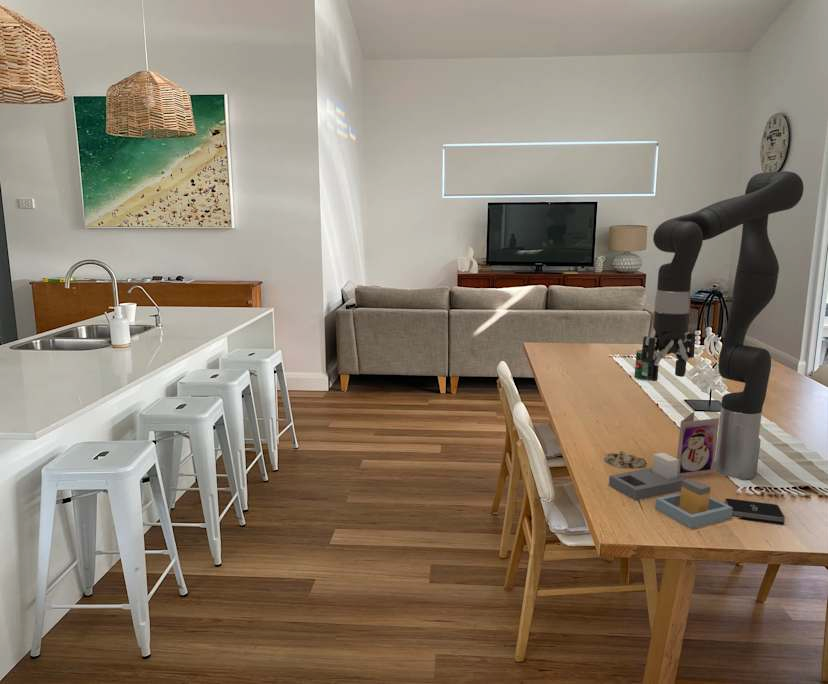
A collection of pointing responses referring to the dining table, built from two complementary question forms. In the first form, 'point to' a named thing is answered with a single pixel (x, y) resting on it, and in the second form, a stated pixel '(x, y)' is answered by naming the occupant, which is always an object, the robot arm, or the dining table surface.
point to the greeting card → (697, 446)
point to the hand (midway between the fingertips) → (666, 378)
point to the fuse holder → (644, 484)
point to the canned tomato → (641, 367)
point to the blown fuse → (694, 496)
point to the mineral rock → (624, 460)
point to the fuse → (665, 466)
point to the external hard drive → (756, 511)
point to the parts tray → (713, 515)
